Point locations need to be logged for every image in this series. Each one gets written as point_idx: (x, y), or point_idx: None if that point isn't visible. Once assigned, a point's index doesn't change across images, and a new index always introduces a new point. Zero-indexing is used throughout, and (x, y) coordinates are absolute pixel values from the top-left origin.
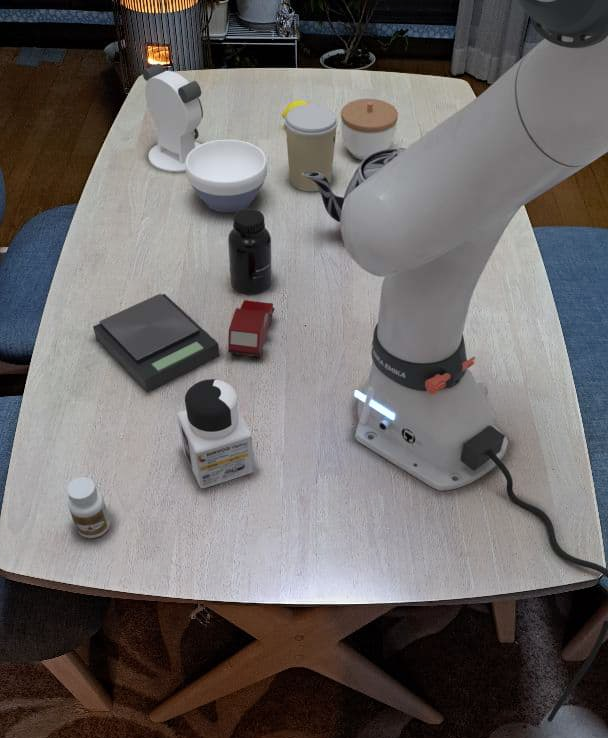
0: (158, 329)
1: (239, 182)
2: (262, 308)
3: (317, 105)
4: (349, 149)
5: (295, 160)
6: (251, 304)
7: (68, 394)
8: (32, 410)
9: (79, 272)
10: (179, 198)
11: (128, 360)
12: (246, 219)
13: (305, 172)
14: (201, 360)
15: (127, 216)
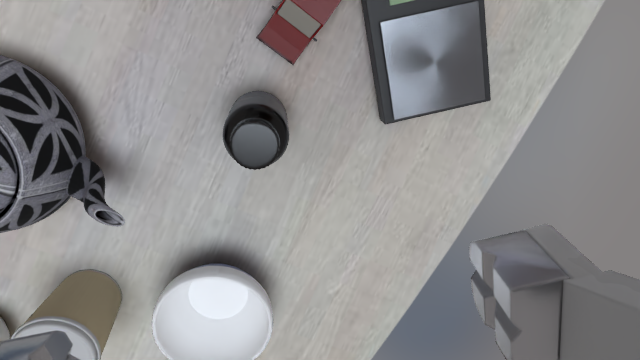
0: (427, 48)
1: (213, 275)
2: (278, 30)
3: None
4: (7, 330)
5: (106, 308)
6: (288, 47)
7: (552, 12)
8: (597, 5)
9: (445, 224)
10: (278, 315)
11: (482, 14)
12: (260, 141)
13: (117, 225)
14: None
15: (351, 303)
